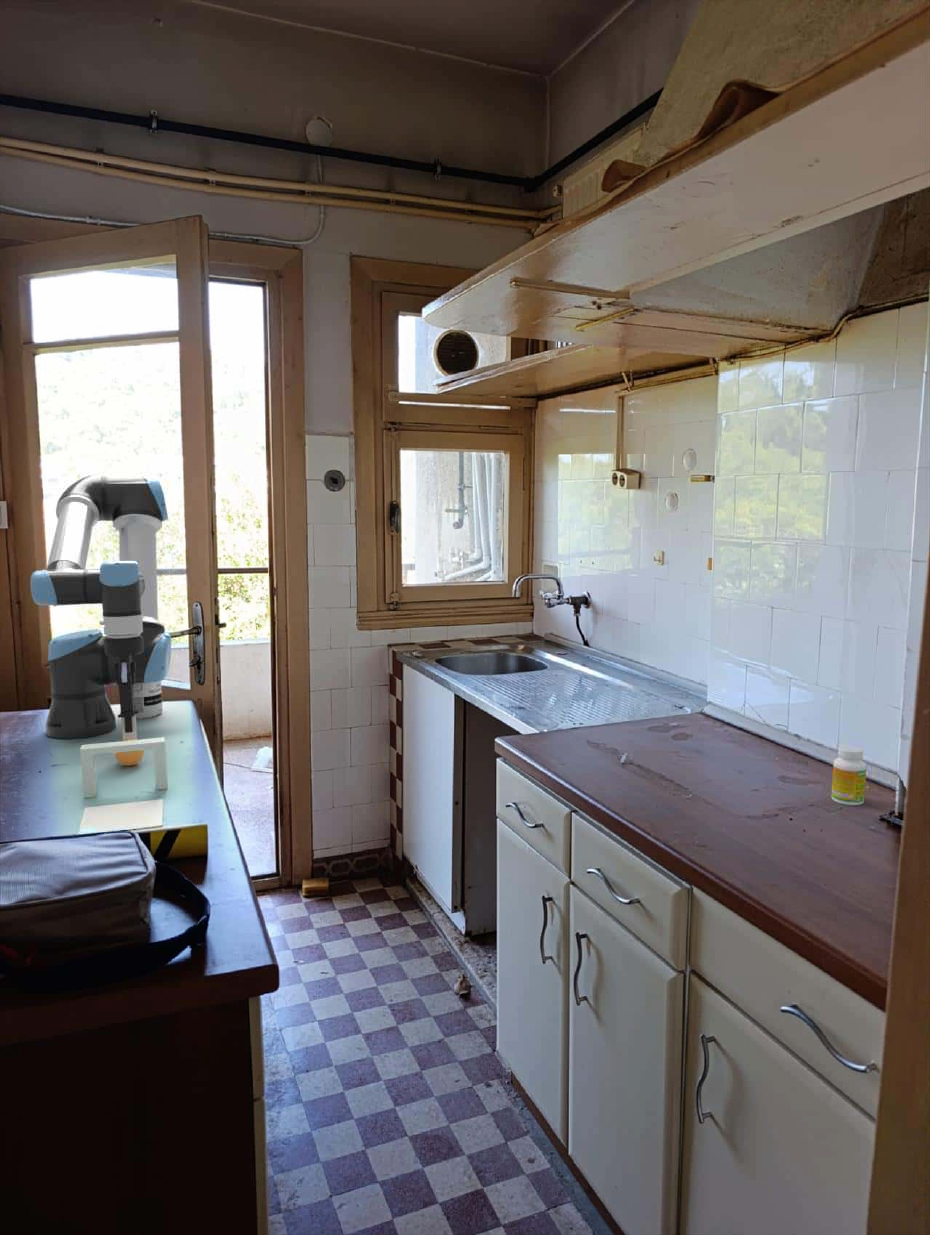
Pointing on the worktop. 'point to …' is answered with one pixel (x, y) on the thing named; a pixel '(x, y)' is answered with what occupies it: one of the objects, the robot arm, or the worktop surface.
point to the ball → (129, 756)
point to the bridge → (122, 746)
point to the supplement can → (148, 699)
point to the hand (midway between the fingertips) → (130, 746)
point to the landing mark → (123, 816)
